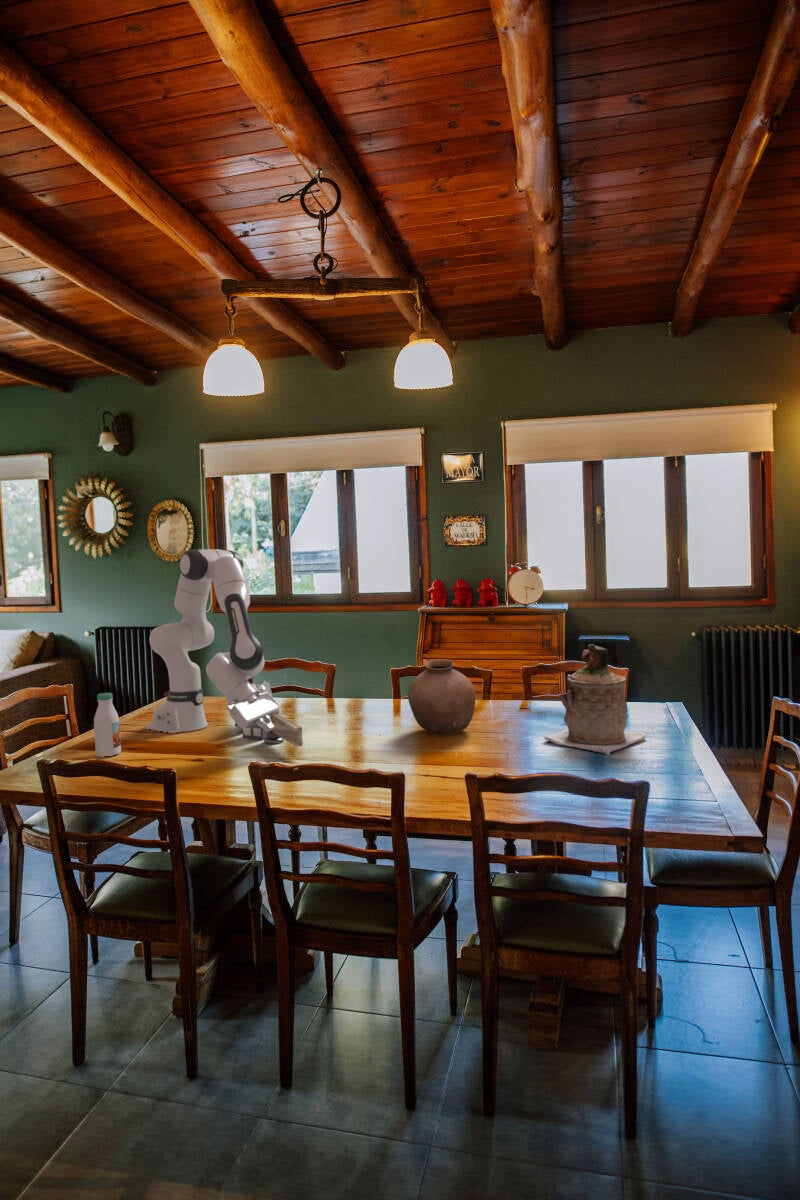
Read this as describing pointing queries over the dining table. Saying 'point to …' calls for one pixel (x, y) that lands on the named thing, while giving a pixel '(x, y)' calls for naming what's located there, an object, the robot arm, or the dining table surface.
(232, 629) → the robot arm
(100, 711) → the milk bottle
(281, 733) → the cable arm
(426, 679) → the pottery
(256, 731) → the psu box
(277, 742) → the pivot foot
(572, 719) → the cookie jar
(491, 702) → the dining table surface
